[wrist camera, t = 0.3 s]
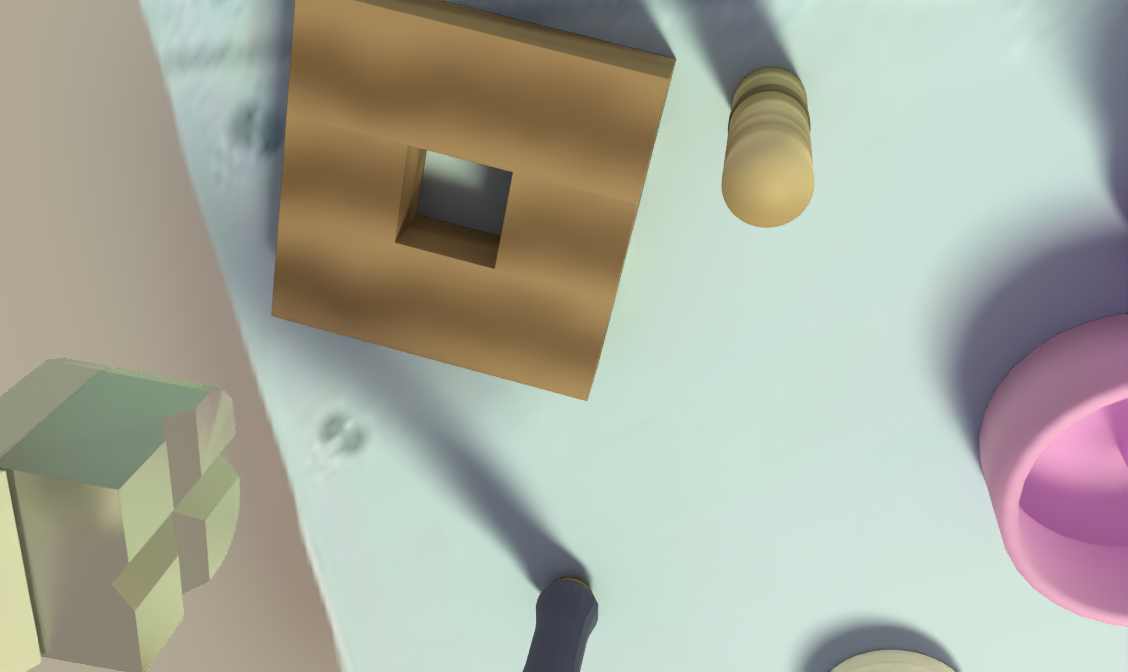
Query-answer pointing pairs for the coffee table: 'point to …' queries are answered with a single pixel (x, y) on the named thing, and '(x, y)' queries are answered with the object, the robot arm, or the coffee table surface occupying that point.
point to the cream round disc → (891, 662)
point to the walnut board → (478, 134)
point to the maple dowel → (768, 149)
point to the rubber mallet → (562, 627)
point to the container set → (1065, 468)
